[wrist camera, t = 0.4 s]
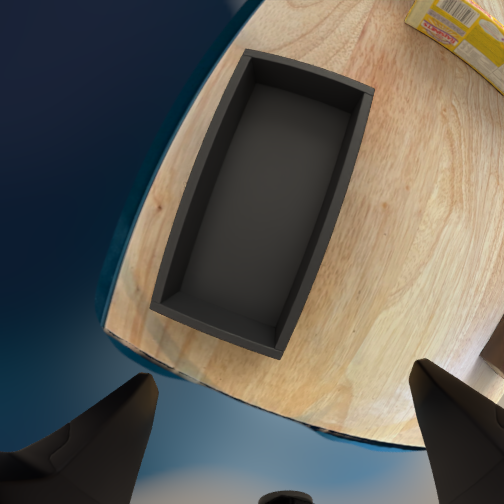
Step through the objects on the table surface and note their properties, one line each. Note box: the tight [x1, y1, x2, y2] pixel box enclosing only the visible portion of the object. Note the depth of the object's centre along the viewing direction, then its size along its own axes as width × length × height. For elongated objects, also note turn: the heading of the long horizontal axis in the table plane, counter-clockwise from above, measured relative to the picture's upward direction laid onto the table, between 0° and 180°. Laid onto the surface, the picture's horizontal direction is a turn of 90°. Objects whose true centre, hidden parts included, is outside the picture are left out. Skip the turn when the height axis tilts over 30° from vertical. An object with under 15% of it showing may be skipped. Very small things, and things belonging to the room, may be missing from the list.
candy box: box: [405, 0, 504, 95], centre depth 13 cm, size 16×2×8 cm, turn 65°
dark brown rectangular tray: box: [150, 49, 375, 360], centre depth 18 cm, size 19×9×4 cm, turn 160°
